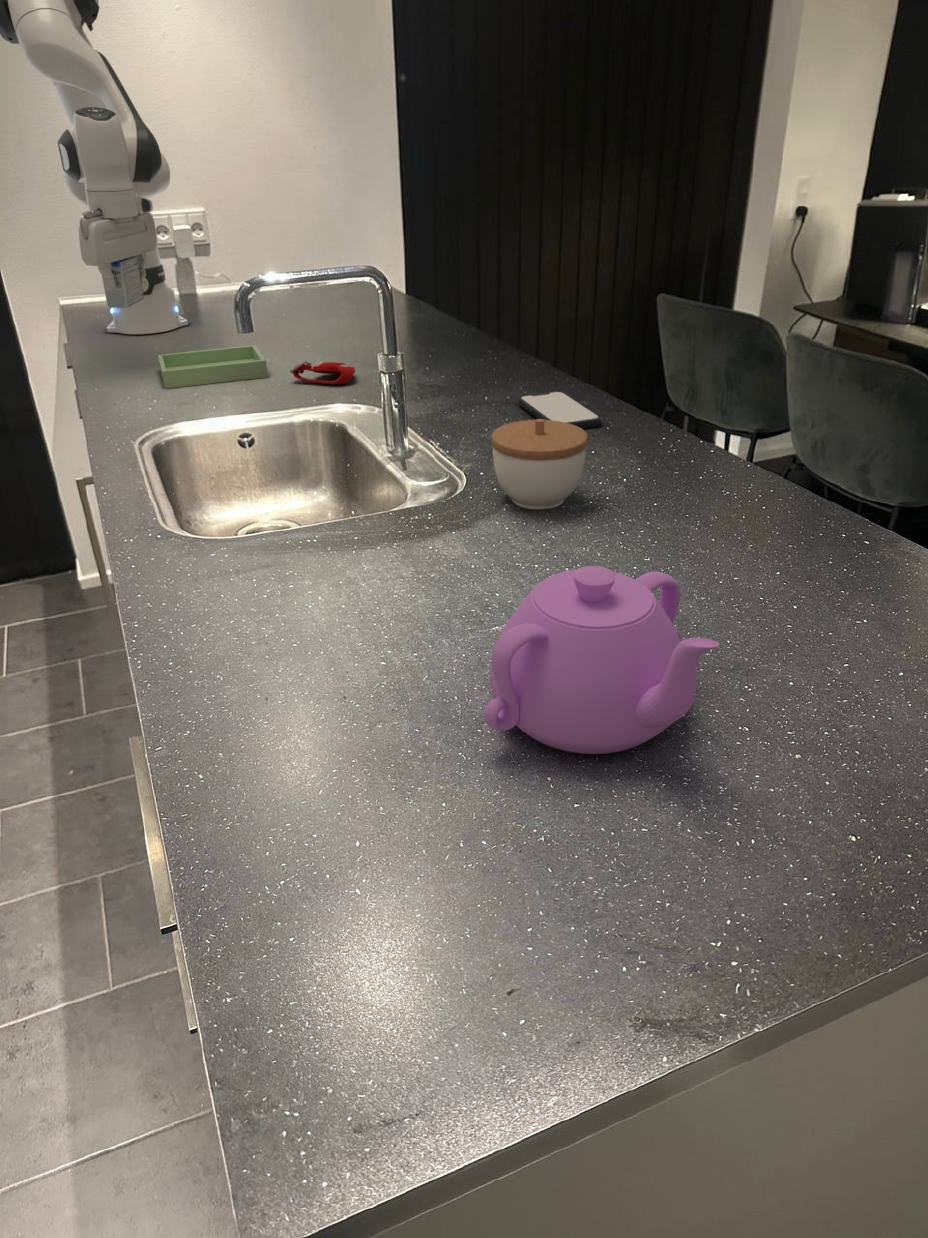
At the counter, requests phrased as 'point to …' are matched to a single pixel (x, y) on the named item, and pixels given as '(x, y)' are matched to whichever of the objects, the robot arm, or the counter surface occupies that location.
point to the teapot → (594, 662)
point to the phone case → (559, 409)
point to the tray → (212, 366)
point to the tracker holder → (325, 371)
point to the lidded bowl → (539, 461)
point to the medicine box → (124, 284)
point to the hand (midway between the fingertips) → (126, 282)
